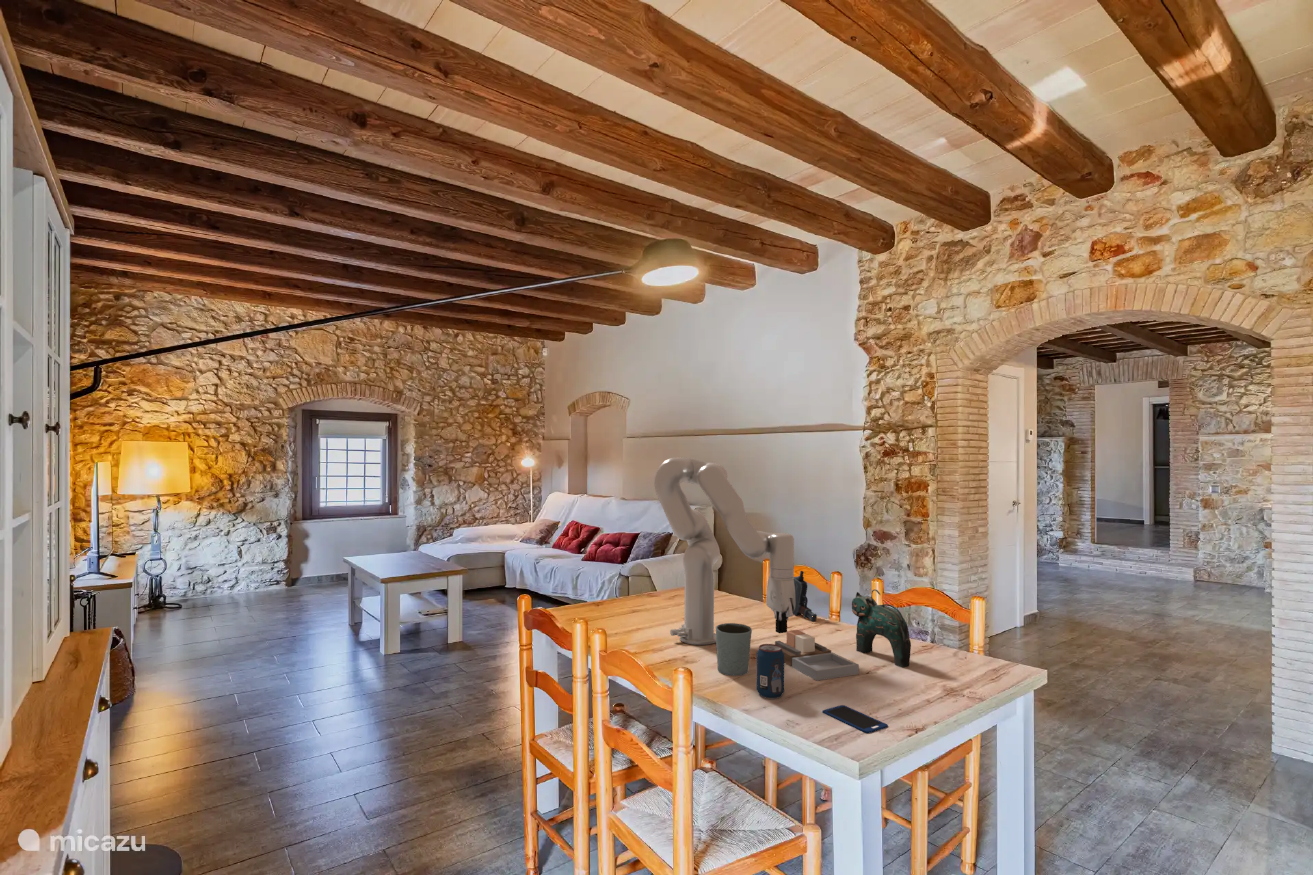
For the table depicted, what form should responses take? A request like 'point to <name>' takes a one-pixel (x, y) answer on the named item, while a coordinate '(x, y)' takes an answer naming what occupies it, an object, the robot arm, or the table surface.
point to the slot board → (799, 652)
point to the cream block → (805, 643)
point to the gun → (802, 598)
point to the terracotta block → (792, 637)
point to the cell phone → (855, 719)
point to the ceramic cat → (881, 627)
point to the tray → (825, 666)
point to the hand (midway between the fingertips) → (781, 632)
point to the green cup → (733, 648)
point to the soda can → (770, 671)
